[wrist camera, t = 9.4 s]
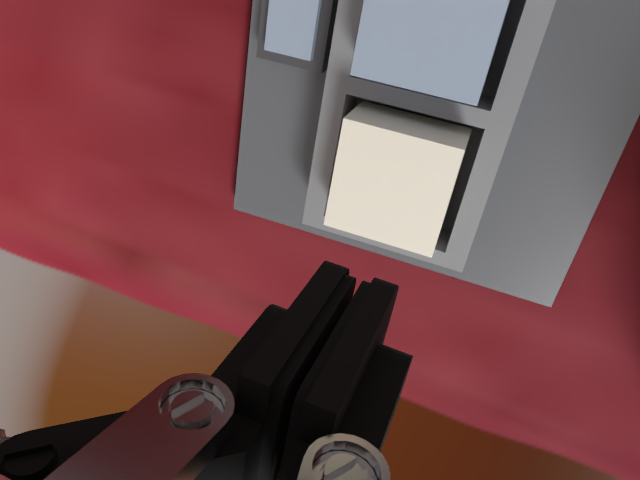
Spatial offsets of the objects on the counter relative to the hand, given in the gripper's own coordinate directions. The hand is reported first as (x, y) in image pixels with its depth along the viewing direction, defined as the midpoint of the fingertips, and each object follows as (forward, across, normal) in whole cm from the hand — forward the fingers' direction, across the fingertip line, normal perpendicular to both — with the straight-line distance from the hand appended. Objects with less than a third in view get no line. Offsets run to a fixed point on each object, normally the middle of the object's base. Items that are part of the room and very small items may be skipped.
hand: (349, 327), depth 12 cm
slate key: (+10, +1, -6) cm, 11 cm away
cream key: (+10, +1, 0) cm, 10 cm away
